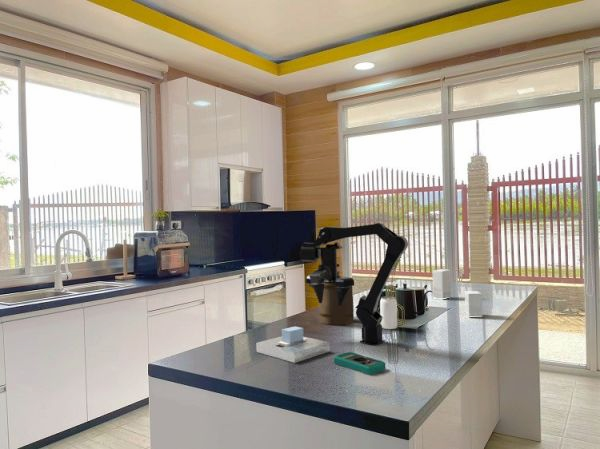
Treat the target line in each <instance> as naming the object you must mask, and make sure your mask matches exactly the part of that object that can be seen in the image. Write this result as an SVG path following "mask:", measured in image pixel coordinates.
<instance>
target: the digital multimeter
mask: <svg viewBox="0 0 600 449" xmlns="http://www.w3.org/2000/svg"><path fill="white" fill-rule="evenodd" d="M333 364H334V365H338V366H340V367H344V368H347V369H351V370H352V371H353V370H354V371H357V372H359V373H362V374H365V375H369V376H371V375H374V374H378V373H380V372H383V371H385V370H386V362H385V361H383V360H380V359H376V358H372V357H369V356H365V355H363V354H359V353H356V352H352V351H347V352H343V353H340V354H338V355H337V354H336V355H335V356H334V357H333Z"/></svg>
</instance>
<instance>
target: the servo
mask: <svg viewBox="0 0 600 449" xmlns="http://www.w3.org/2000/svg"><path fill="white" fill-rule="evenodd" d="M281 336H282V341H281V342H278V345H282V346H281V348H282V347H285V346H286V347H287V346H293V345H297V344H300V343H304V342H305V341H307V338H303V336H304V327H300V326H291V327H287V328H282V329H281Z"/></svg>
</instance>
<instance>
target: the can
mask: <svg viewBox="0 0 600 449" xmlns="http://www.w3.org/2000/svg"><path fill="white" fill-rule="evenodd" d="M379 301H380V302H379V305H380V306H379V307H380V309H379V310H380V311H379V312H380V313H379V314H380V315H381V316H382V317H383V318H382V321H381V323H380V325H382V330H383V329H384V330H396V329H397V328H398V306H397V305H398V304H397V303H398V302H397V300H396V297H395V296H391V295H390V296H388V295H387V296H380V300H379Z"/></svg>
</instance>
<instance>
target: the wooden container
mask: <svg viewBox="0 0 600 449" xmlns="http://www.w3.org/2000/svg"><path fill="white" fill-rule="evenodd" d="M337 275H340V271H339V270H337ZM343 277H344V276H343ZM343 277H342V276H340V278H343ZM327 281H328V280H327ZM335 287H337V286H336V284H332V283H324V292H323V300H322V303H319V302H318V321H319V323H320V324H323V325H328V326H329V325H332V326H337V325H338V326H342V325H348V324H352V323H354V321H355V318H354V317H355V316H354V294H353V292H354V291H353V286H351V288H349V290H348V292H347V293H346V295H345V298H344V300H343V302H342V305H341V306H338V294H337V290H336V289H335Z"/></svg>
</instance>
